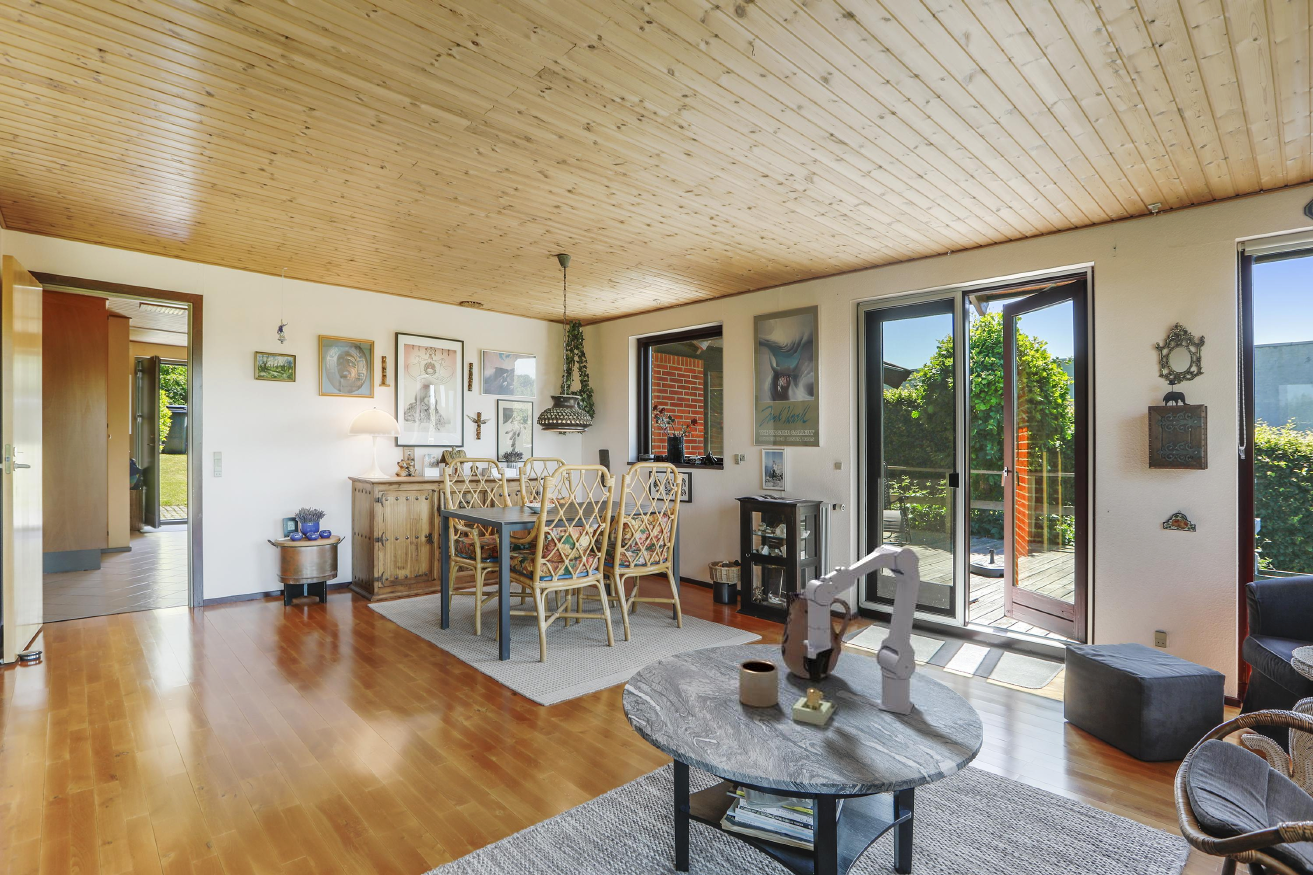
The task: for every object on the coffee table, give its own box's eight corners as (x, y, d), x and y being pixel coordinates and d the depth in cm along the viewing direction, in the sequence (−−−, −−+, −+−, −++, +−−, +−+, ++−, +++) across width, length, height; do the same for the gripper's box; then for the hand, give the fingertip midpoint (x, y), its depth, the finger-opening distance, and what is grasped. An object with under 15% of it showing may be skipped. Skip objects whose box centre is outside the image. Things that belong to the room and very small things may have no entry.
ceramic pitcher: (784, 662, 211) (785, 586, 212) (851, 669, 205) (851, 591, 205) (777, 680, 195) (778, 597, 195) (849, 688, 188) (850, 603, 189)
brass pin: (808, 713, 170) (808, 687, 170) (819, 715, 169) (819, 689, 169) (805, 717, 167) (805, 690, 167) (817, 720, 166) (817, 693, 166)
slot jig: (807, 700, 179) (807, 688, 179) (838, 707, 174) (838, 694, 175) (792, 718, 166) (792, 705, 166) (824, 726, 162) (824, 712, 162)
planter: (731, 697, 181) (731, 663, 181) (762, 691, 186) (762, 657, 186) (754, 711, 171) (754, 675, 171) (786, 704, 176) (786, 669, 176)
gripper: (811, 618, 178) (811, 667, 177) (796, 630, 165) (796, 683, 165) (837, 621, 174) (837, 671, 174) (823, 634, 161) (823, 688, 161)
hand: (819, 678), depth 169 cm, fingers open, 7 cm apart
